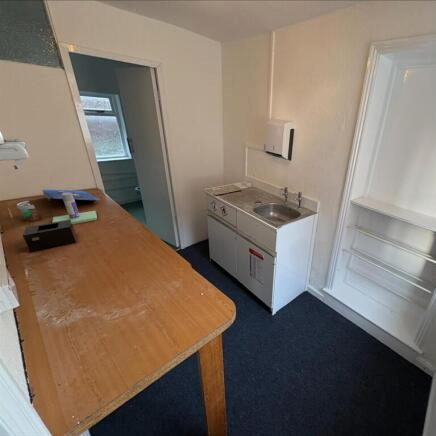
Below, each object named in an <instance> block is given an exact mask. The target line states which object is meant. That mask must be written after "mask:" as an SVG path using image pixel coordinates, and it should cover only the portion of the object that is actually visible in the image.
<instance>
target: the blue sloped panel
mask: <svg viewBox="0 0 436 436" xmlns="http://www.w3.org/2000/svg"><path fill="white" fill-rule="evenodd" d="M41 191H42V195H44V196H45V197H46V199H47V200H51V199H55V200H63V197H62V194H64V193H72V195H73V198H74V200H81V201H101V199H100V198H99V197H97V196H95V195H92V194H90V193H89V192H86V191H83V190H74V189H48V188H44V189H41Z"/></svg>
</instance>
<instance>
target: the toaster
mask: <svg viewBox="0 0 436 436" xmlns="http://www.w3.org/2000/svg"><path fill="white" fill-rule="evenodd" d="M52 222H53V221H52ZM52 222H47V223H42V224H36V225H29V226H26V227H25V229H24V231H23V234H22V237H23V240H24V241H25V244H26V246H27V248H28V250H29V252H30V253H35V252H40V251H44V250H49V249H53V248H54V249H55V248H58V247H63V246H67V245H72V244H76V243H77V233H76V231H75V228H74V224H72V222H71V220H64V221H58V222H53V223H52Z"/></svg>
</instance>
